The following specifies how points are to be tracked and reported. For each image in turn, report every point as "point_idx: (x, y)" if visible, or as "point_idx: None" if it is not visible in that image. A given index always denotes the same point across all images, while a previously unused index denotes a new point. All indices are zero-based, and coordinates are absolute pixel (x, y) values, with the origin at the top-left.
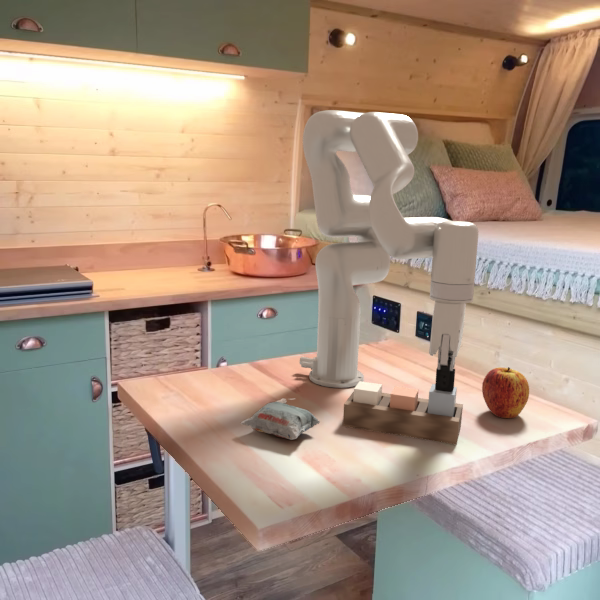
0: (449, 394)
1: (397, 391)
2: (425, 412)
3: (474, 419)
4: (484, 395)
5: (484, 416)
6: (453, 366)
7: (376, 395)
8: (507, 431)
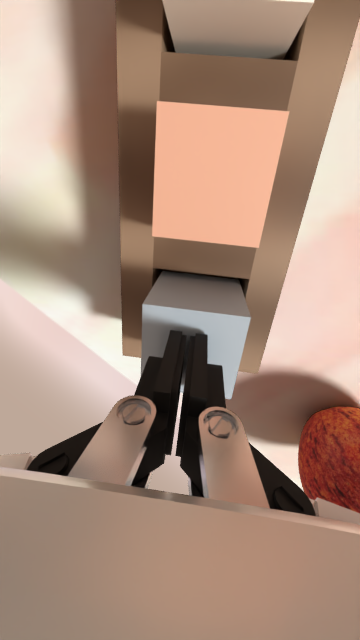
0: (142, 372)
1: (206, 139)
2: (162, 268)
3: (299, 367)
4: (351, 426)
5: (321, 388)
6: (148, 481)
7: (165, 3)
8: (242, 415)
